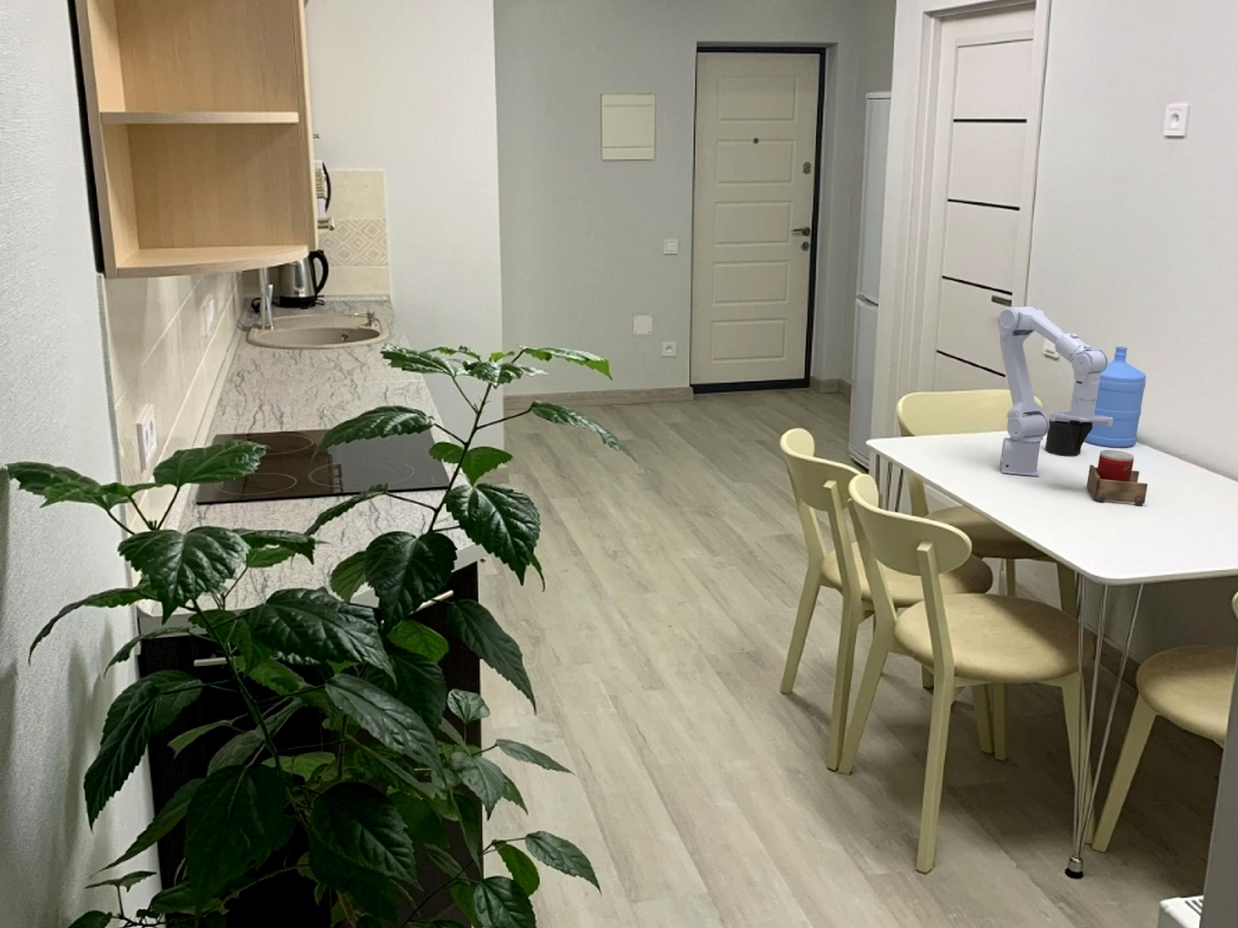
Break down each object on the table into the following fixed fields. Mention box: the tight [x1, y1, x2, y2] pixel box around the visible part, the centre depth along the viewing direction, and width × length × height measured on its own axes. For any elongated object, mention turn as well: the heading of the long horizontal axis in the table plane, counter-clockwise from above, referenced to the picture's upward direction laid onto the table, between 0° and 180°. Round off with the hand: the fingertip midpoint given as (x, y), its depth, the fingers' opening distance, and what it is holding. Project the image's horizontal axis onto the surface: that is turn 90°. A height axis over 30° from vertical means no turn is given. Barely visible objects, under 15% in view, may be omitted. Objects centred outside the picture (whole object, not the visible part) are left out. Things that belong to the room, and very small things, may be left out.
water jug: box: [1084, 346, 1147, 449], centre depth 348 cm, size 16×16×28 cm
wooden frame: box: [1086, 464, 1148, 507], centre depth 299 cm, size 12×13×6 cm
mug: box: [1044, 418, 1082, 457], centre depth 339 cm, size 9×12×9 cm
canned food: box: [1097, 449, 1135, 482], centre depth 299 cm, size 8×8×11 cm
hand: (1076, 450), depth 302 cm, fingers closed
